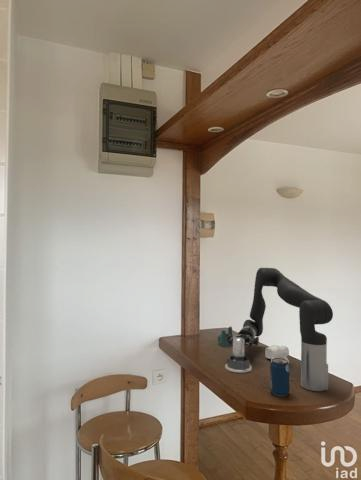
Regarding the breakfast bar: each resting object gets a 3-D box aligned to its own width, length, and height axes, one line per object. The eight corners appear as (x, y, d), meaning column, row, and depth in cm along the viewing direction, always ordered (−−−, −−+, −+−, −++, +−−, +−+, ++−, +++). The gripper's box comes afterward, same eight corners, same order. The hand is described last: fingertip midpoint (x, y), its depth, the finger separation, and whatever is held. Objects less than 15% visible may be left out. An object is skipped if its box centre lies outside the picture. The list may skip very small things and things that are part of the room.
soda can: (293, 394, 128) (293, 361, 128) (280, 398, 124) (280, 364, 125) (278, 387, 134) (279, 356, 134) (265, 391, 130) (266, 359, 130)
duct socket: (250, 364, 160) (250, 354, 160) (252, 373, 148) (252, 363, 148) (224, 363, 161) (225, 353, 161) (225, 372, 150) (225, 361, 150)
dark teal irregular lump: (231, 342, 197) (231, 326, 197) (236, 346, 188) (236, 330, 188) (216, 342, 195) (216, 326, 196) (220, 347, 186) (220, 330, 187)
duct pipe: (240, 363, 158) (240, 336, 158) (246, 367, 153) (246, 339, 154) (230, 364, 156) (230, 337, 156) (236, 368, 151) (236, 340, 152)
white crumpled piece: (264, 365, 168) (279, 363, 155) (261, 346, 172) (275, 343, 158) (280, 364, 170) (296, 362, 157) (277, 346, 174) (292, 342, 160)
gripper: (232, 326, 176) (224, 333, 161) (261, 328, 170) (255, 337, 155) (232, 341, 176) (224, 350, 160) (261, 344, 170) (255, 354, 155)
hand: (239, 343), depth 158 cm, fingers open, 8 cm apart
